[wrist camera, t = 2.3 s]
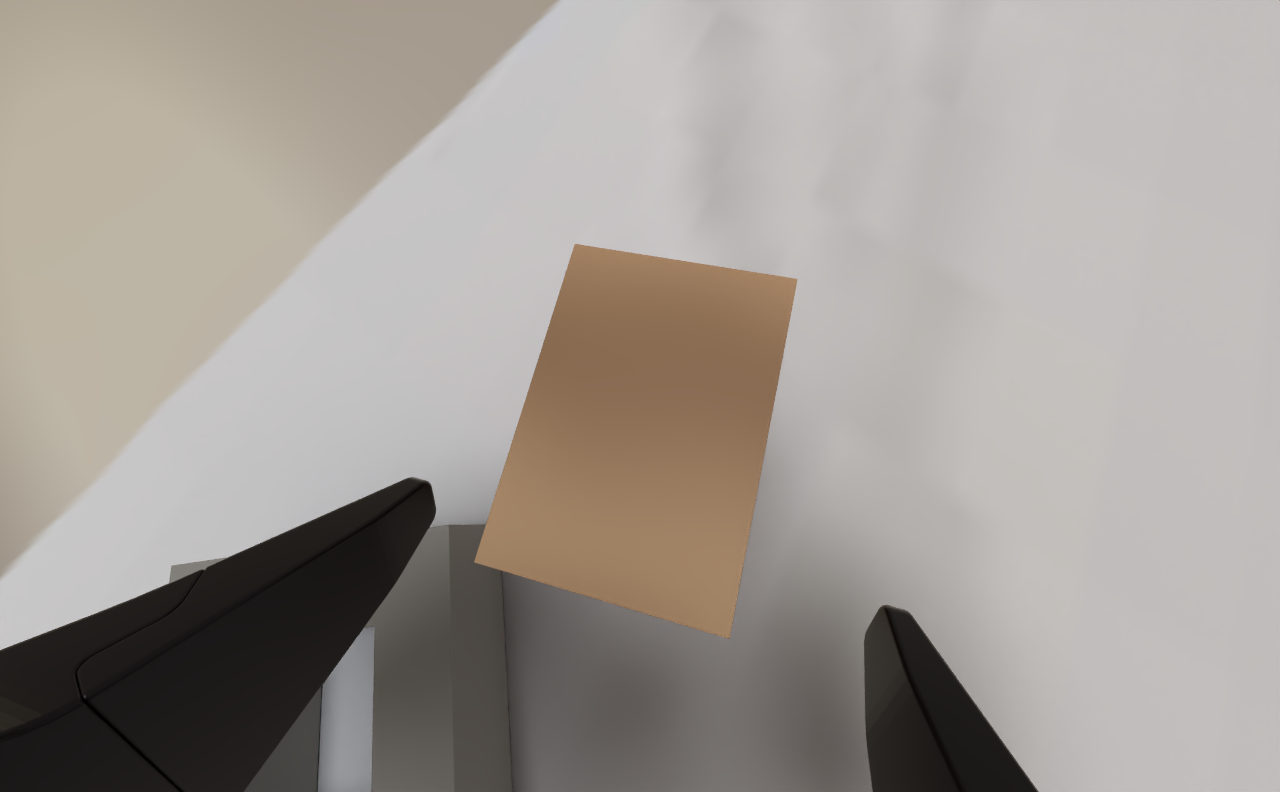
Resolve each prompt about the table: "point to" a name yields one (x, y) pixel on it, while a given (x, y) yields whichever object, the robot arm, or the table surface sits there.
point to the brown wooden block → (644, 436)
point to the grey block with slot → (422, 680)
